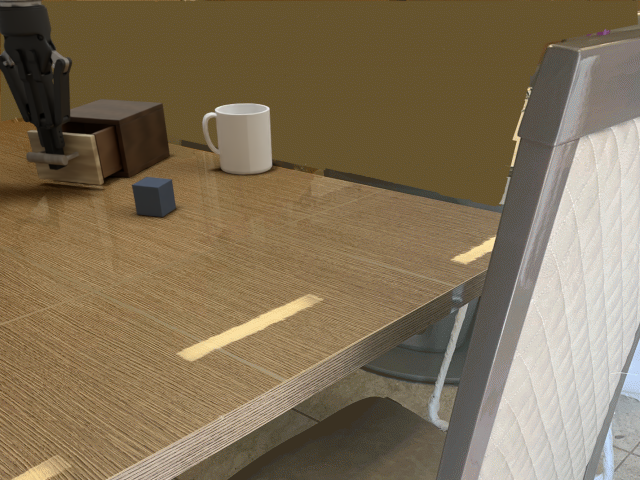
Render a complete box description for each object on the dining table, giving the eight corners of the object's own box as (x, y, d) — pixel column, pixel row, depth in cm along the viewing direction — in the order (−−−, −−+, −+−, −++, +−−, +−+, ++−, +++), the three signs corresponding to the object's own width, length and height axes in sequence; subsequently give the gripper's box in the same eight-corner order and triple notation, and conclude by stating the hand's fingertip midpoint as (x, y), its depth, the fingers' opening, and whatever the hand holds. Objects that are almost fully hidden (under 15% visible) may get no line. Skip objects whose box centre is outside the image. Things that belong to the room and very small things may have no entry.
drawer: (83, 193, 108) (72, 143, 103) (20, 186, 111) (7, 138, 106) (142, 162, 123) (135, 118, 118) (86, 157, 126) (76, 114, 121)
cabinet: (129, 177, 119) (118, 120, 113) (65, 171, 122) (52, 115, 116) (170, 155, 131) (162, 102, 125) (110, 150, 134) (101, 99, 128)
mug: (267, 158, 128) (264, 102, 122) (276, 172, 121) (274, 113, 115) (204, 163, 126) (198, 105, 120) (210, 177, 118) (203, 117, 112)
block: (136, 214, 102) (131, 184, 100) (151, 205, 106) (146, 176, 103) (162, 217, 101) (157, 187, 99) (176, 208, 105) (172, 179, 102)
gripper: (-35, 4, 95) (12, 170, 109) (40, 6, 91) (78, 176, 106) (-1, 1, 100) (39, 158, 115) (71, 2, 97) (103, 164, 111)
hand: (58, 167), depth 110 cm, fingers closed
